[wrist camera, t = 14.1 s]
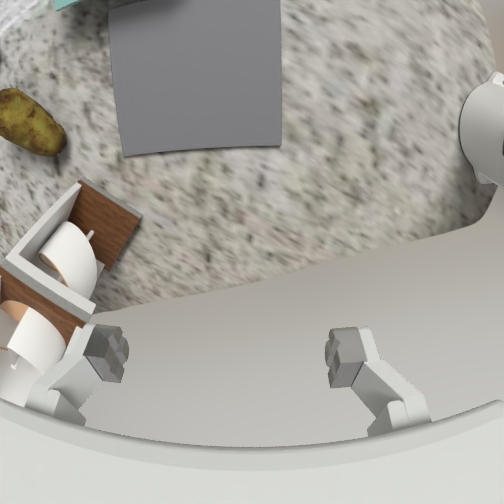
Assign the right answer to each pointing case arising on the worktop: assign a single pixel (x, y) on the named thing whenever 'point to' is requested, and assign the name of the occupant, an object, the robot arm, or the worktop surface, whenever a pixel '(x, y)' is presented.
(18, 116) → the potato
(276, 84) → the mat
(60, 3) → the lid
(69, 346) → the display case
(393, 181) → the worktop surface
